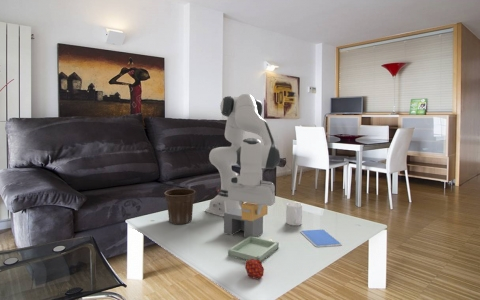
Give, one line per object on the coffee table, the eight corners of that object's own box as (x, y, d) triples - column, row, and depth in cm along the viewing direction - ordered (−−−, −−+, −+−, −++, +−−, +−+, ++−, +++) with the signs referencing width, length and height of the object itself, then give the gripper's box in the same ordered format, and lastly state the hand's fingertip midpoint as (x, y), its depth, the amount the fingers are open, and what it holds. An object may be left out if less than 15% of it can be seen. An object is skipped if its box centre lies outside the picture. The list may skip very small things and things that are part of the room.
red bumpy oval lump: (254, 287, 110) (238, 271, 115) (266, 277, 115) (249, 263, 119) (259, 274, 108) (242, 259, 112) (271, 264, 112) (254, 250, 117)
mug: (303, 228, 163) (304, 208, 162) (287, 228, 164) (287, 208, 163) (300, 221, 175) (301, 202, 174) (285, 220, 176) (285, 202, 175)
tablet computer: (342, 246, 142) (342, 243, 142) (315, 248, 139) (315, 245, 139) (323, 231, 161) (323, 229, 160) (299, 233, 158) (299, 230, 158)
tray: (228, 255, 130) (228, 249, 130) (250, 241, 146) (250, 236, 145) (258, 263, 123) (258, 257, 123) (278, 248, 138) (278, 242, 138)
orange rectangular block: (240, 219, 129) (240, 204, 128) (257, 212, 139) (257, 198, 139) (250, 221, 126) (251, 206, 125) (267, 214, 136) (267, 200, 136)
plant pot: (181, 228, 162) (181, 196, 161) (158, 222, 171) (157, 192, 169) (201, 219, 176) (201, 190, 175) (179, 215, 185) (179, 187, 183)
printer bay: (223, 233, 156) (223, 212, 155) (234, 227, 164) (235, 208, 164) (252, 239, 148) (253, 218, 147) (262, 233, 156) (263, 213, 155)
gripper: (278, 180, 126) (277, 215, 127) (234, 175, 137) (233, 207, 138) (271, 183, 121) (270, 219, 122) (225, 178, 131) (225, 211, 133)
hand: (250, 213), depth 130 cm, fingers closed on orange rectangular block, 5 cm apart
